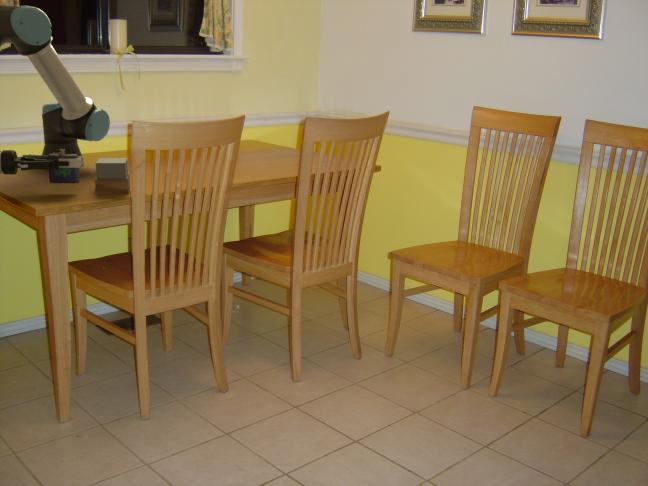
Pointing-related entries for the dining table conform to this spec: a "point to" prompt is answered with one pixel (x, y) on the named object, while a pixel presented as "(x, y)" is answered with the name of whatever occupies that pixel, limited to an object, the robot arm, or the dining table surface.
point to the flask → (63, 169)
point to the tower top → (111, 168)
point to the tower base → (112, 186)
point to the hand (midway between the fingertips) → (81, 161)
